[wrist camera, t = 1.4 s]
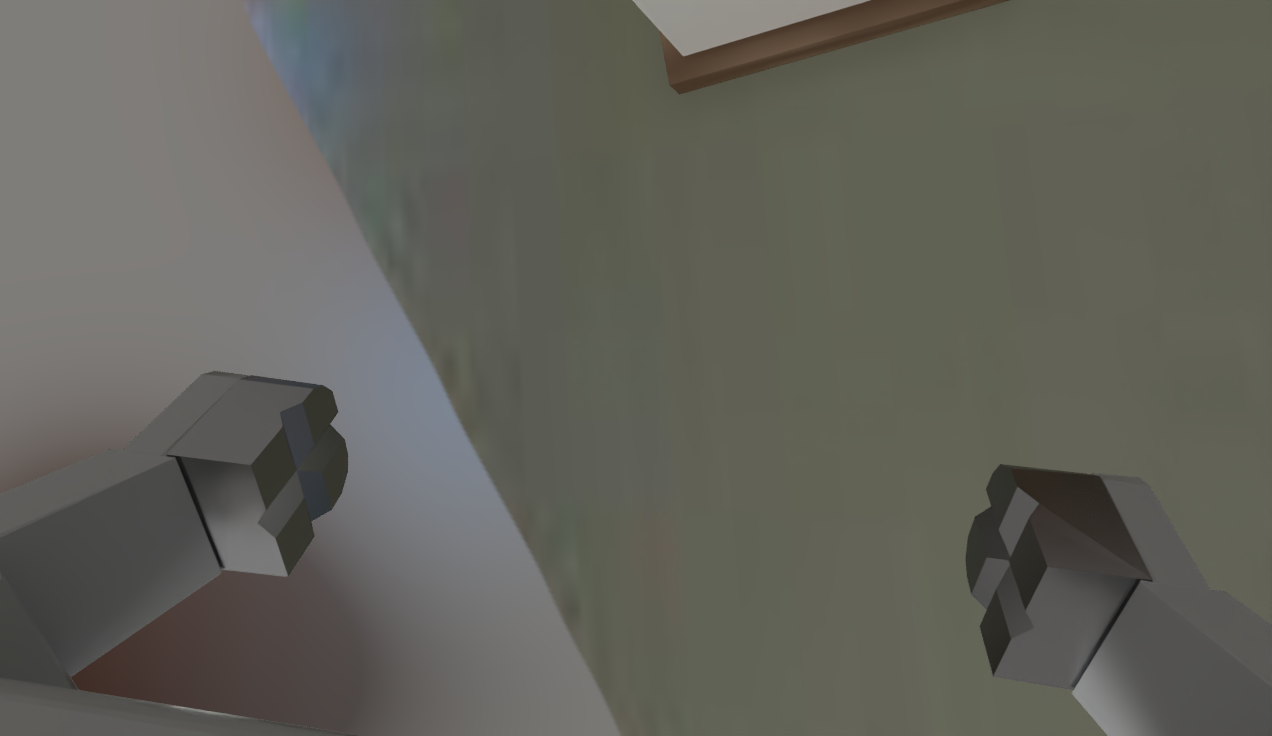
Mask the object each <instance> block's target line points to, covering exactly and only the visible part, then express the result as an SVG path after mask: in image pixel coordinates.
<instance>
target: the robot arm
mask: <svg viewBox="0 0 1272 736" xmlns="http://www.w3.org/2000/svg"><path fill="white" fill-rule="evenodd" d="M337 413H338V409H337V406H336V403H335V399H334V395H333V392H332V391H331V390H330V389H328V388H327V387H325V386H323V385H317V384H310V383H303V382H296V381H289V380H281V379H274V378H267V377H260V376H252V375H251V376H247V375H242V374H234V373H226V372H218V371H213V372H209V373H205V374H202V375H201V376H200V377H199V378H198V379H196V380H195V381H194V382H193V383H192V384H191V385H190V386H189V387H188V388H187V389H186V390H185V391H184V392H183V393H182V394H181V395H179V396H178V397H177V398H176V399H175V400H174V401H173V402H172V403H171V404H170V405H169V406H168V407H167V408H166V409H165V410H164V411H163V412H162V413H160V415H158V417H156V418H155V419H154V420H153V421H152V422H151V423H150V424H149V425H148V426H147V427H146V428H145V429H144V430H143V431H142V432H140V433H139V434H138V435H137V436H136V437H135V438H134V439H133V440H132V441H131V442H130V443H129V444H128V445H127V446H126V447H125V448H124V449H123V450H112V449H108V450H106V451H104V452H101V453H99V454H96V455H94V456H92V457H89V458H86V459H84V460H82V461H79V462H77V463H74V464H72V465H69V466H67V467H64V468H62V469H60V470H57V471H55V472H52V473H50V474H47V475H45V476H43V477H40V478H38V479H35V480H33V481H30V482H28V483H25V484H23V485H20V486H18V487H16V488H13V489H11V490H9V491H6V492H3V493H1V494H0V736H360V735H354V734H348V733H342V732H335V731H329V730H323V729H317V728H310V727H304V726H298V725H292V724H286V723H280V722H273V721H267V720H261V719H254V718H249V717H242V716H236V715H229V714H224V713H217V712H210V711H205V710H199V709H192V708H186V707H180V706H174V705H167V704H161V703H155V702H149V701H142V700H136V699H130V698H124V697H117V696H112V695H105V694H99V693H93V692H86V691H81V690H78V688H77V687H76V685H75V684H74V682H73V681H72V679H71V678H70V677H71V676H73V675H74V674H76V673H77V672H78V671H80V670H81V669H83V668H84V667H86V666H87V665H89V664H90V663H92V662H93V661H95V660H96V659H97V658H99V657H100V656H102V655H103V654H105V653H106V652H107V651H109V650H111V649H112V648H114V647H115V646H116V645H118V644H119V643H121V642H122V641H124V640H125V639H127V638H128V637H129V636H131V635H132V634H134V633H135V632H137V631H138V630H139V629H141V628H143V627H144V626H145V625H147V624H148V623H150V622H151V621H153V620H154V619H156V618H157V617H159V616H160V615H161V614H163V613H164V612H166V611H167V610H169V609H170V608H172V607H173V606H175V605H176V604H177V603H179V602H180V601H182V600H183V599H185V598H186V597H188V596H189V595H190V594H192V593H193V592H195V591H196V590H198V589H199V588H201V587H202V586H203V585H205V584H206V583H208V582H209V581H211V580H212V579H213V578H215V577H217V576H218V575H220V574H221V569H223V570H232V571H241V572H251V573H259V574H268V575H277V576H286V577H288V576H289V575H290V573H291V571H292V570H293V569H294V567H295V565H296V564H297V562H298V561H299V559H300V558H301V556H302V555H303V553H304V552H305V550H306V548H307V547H308V545H309V544H310V542H311V541H312V539H313V538H314V532H313V527H312V522H311V521H313V520H315V519H317V518H318V517H320V516H321V515H324V514H325V513H327V512H329V511H331V510H332V508H333V507H334V505H335V503H336V502H337V500H338V498H339V497H340V495H341V493H342V490H343V487H344V483H345V480H346V476H347V473H348V452H347V448H346V443H345V439H344V438H343V437H342V436H341V435H340V434H339V433H338V432H337V431H336V430H335V429H334V428H333V427H332V426H331V425H330V423H331V422H332V421H333V419H334V418H335V416H336V415H337ZM986 491H987V494H988V497H989V500H990V504H991V507H989V508H988V509H986V510H985V511H983V512H982V513H980V514H978V515H977V516H975V518H974V521H973V524H972V527H971V530H970V533H969V535H968V541H967V550H966V571H967V579H968V583H969V587H970V591H971V595H972V596H973V597H974V598H975V599H976V600H977V601H978V602H979V603H980V604H981V605H982V606H984V607H985V608H986V609H987V611H986V613H985V615H984V617H983V620H982V622H981V624H980V630H981V633H982V637H983V641H984V645H985V648H986V652H987V656H988V659H989V663H990V667H991V671H992V674H993V677H998V678H1004V679H1010V680H1016V681H1022V682H1028V683H1034V684H1040V685H1046V686H1052V687H1058V688H1064V689H1070V690H1073V692H1072V694H1073V695H1074V697H1075V698H1076V699H1077V700H1078V701H1079V702H1080V704H1081V705H1082V706H1083V707H1084V708H1085V710H1086V711H1087V712H1088V713H1089V714H1090V715H1091V717H1092V718H1093V719H1094V720H1095V721H1096V722H1097V724H1098V725H1099V726H1100V727H1101V728H1102V729H1103V731H1104V732H1105V733H1106V734H1107V735H1108V736H1272V625H1271V624H1269V623H1268V622H1267V621H1265V620H1264V619H1263V618H1261V617H1260V616H1258V615H1257V614H1256V613H1254V612H1253V611H1252V610H1250V609H1249V608H1247V607H1246V606H1245V605H1243V604H1242V603H1241V602H1239V601H1238V600H1236V599H1235V598H1234V597H1232V596H1231V595H1230V594H1228V593H1227V592H1224V591H1217V590H1210V588H1209V586H1208V585H1207V583H1206V581H1205V580H1204V578H1203V576H1202V574H1201V573H1200V571H1199V569H1198V568H1197V566H1196V564H1195V562H1194V561H1193V559H1192V557H1191V556H1190V554H1189V552H1188V550H1187V549H1186V547H1185V545H1184V544H1183V542H1182V540H1181V539H1180V537H1179V535H1178V533H1177V532H1176V530H1175V528H1174V527H1173V525H1172V523H1171V521H1170V520H1169V518H1168V516H1167V515H1166V513H1165V511H1164V509H1163V508H1162V506H1161V504H1160V503H1159V501H1158V499H1157V497H1156V496H1155V494H1154V492H1153V491H1152V489H1151V487H1150V486H1149V484H1147V483H1146V482H1145V481H1143V480H1142V479H1140V478H1139V477H1128V476H1117V475H1107V474H1096V473H1092V474H1085V473H1076V472H1067V471H1058V470H1049V469H1040V468H1031V467H1021V466H1012V465H1003V464H1000V465H999V466H998V468H997V469H996V470H995V471H994V472H993V474H992V476H991V478H990V481H989V483H988V486H987V488H986Z"/></svg>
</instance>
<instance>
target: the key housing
mask: <svg viewBox="0 0 1272 736" xmlns="http://www.w3.org/2000/svg"><path fill="white" fill-rule="evenodd" d="M1005 1H1008V0H870V1H866V2H863V3H860V4H856V5H853V6H850V7H846V8H843V9H840V10H836V11H833V12H830V13H827V14H823V15H820V16H817V17H813V18H810V19H807V20H803V21H800V22H797V23H793V24H790V25H787V26H783V27H780V28H777V29H773V30H770V31H767V32H763V33H760V34H757V35H753V36H750V37H747V38H743V39H740V40H737V41H733V42H730V43H727V44H723V45H720V46H717V47H713V48H710V49H707V50H703V51H700V52H697V53H693V54H690V55H687V56H682V55H681V53H680V52H679V51H678V50H677V49H676V48H675V47H674V46H673V45H672V43H671V42H670V41H669V40H668V39H667V38H666V37H665V36H664V35H663V34H662V32H661V31H660V30H659V31H660V36H661V41H662V47H663V52H664V58H665V63H666V68H667V74H668V79H669V85H670V86H671V87H672V88H673V89H675V90H676V91H677V92H678V93H679V94H682V93H685V92H689V91H692V90H696V89H699V88H703V87H706V86H710V85H714V84H717V83H721V82H724V81H728V80H731V79H735V78H738V77H742V76H745V75H749V74H752V73H756V72H759V71H763V70H766V69H770V68H773V67H777V66H780V65H784V64H787V63H791V62H794V61H798V60H801V59H805V58H808V57H812V56H815V55H819V54H822V53H826V52H829V51H833V50H836V49H840V48H843V47H847V46H850V45H854V44H857V43H861V42H864V41H868V40H871V39H875V38H878V37H882V36H885V35H889V34H892V33H896V32H899V31H903V30H906V29H910V28H913V27H917V26H920V25H924V24H927V23H931V22H934V21H938V20H942V19H945V18H949V17H952V16H956V15H959V14H963V13H966V12H970V11H973V10H977V9H980V8H984V7H987V6H991V5H994V4H998V3H1001V2H1005Z"/></svg>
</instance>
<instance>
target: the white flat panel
mask: <svg viewBox="0 0 1272 736" xmlns="http://www.w3.org/2000/svg"><path fill="white" fill-rule="evenodd" d="M633 1H634V3H635V4H636V5H637V6H638V7H639V8H640V9H641V10H642V11H643V13H644V14H645V15H646V16H647V17H648V18H649V19H650V20H651V21H652V22H653V24H654V25H655V26H656V27H657V28H658V29H659V30H660V31H661V32H662V34H663V35H664V36H665V37H666V38H667V39H668V40H669V41H670V42H671V43H672V45H673V46H674V47H675V48H676V49H677V50H678V51H679V52H680V53H681V55H682V56H687V55H690V54H693V53H697V52H700V51H703V50H707V49H710V48H713V47H717V46H720V45H723V44H727V43H730V42H733V41H737V40H740V39H743V38H747V37H750V36H753V35H757V34H760V33H763V32H767V31H770V30H773V29H777V28H780V27H783V26H787V25H790V24H793V23H797V22H800V21H803V20H807V19H810V18H813V17H817V16H820V15H823V14H827V13H830V12H833V11H836V10H840V9H843V8H846V7H850V6H853V5H856V4H860V3H863V2H866V1H870V0H633Z"/></svg>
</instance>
